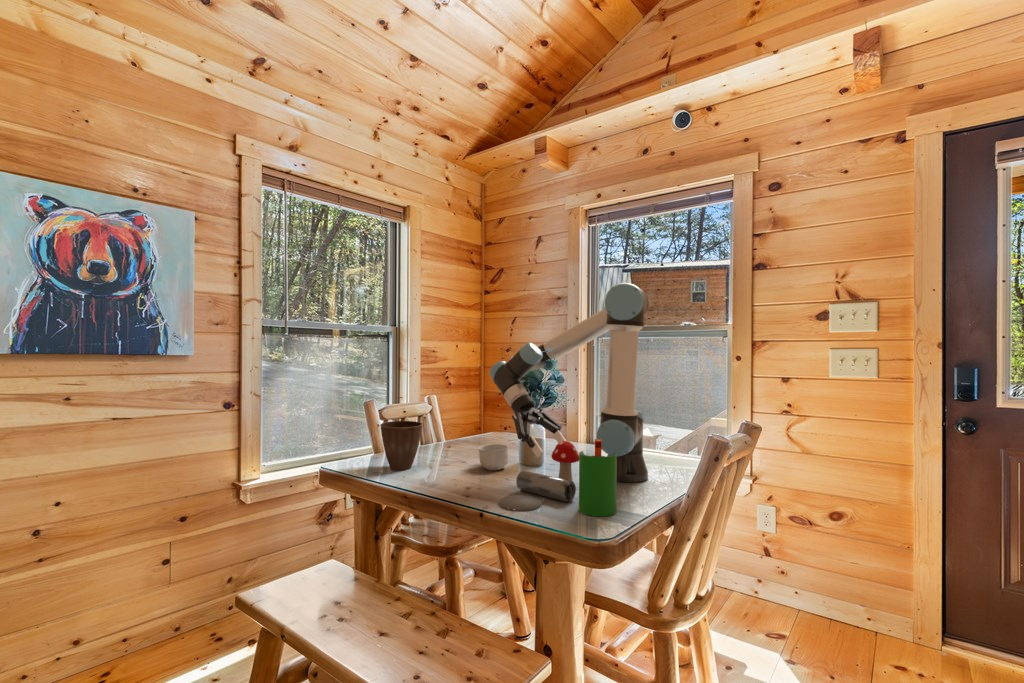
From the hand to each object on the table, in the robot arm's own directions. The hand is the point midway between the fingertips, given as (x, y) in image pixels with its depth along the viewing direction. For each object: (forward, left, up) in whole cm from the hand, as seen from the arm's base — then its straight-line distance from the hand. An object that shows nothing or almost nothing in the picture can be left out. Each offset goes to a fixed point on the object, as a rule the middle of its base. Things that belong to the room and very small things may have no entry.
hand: (554, 451), depth 166 cm
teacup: (-5, -32, -11) cm, 34 cm away
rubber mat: (+20, +4, -11) cm, 24 cm away
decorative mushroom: (-1, +4, -11) cm, 12 cm away
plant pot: (+19, -55, -11) cm, 59 cm away
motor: (+11, +24, -11) cm, 28 cm away
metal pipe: (+9, +4, -11) cm, 15 cm away
